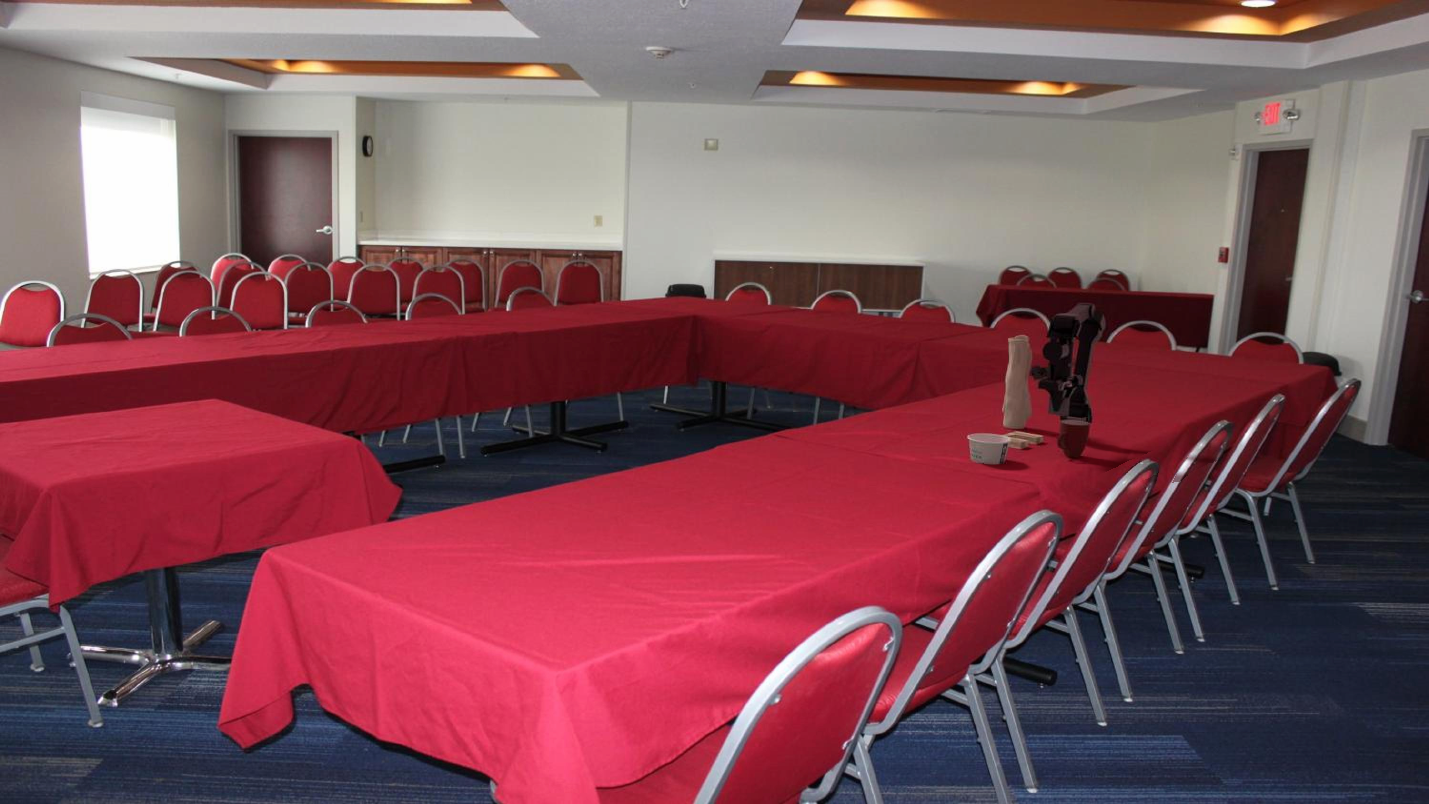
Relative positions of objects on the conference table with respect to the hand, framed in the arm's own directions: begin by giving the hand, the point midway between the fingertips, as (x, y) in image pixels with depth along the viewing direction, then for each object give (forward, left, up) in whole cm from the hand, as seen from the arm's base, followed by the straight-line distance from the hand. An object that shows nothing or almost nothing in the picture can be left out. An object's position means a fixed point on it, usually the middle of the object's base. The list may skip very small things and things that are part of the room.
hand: (1058, 411), depth 312 cm
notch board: (-2, -13, -12) cm, 18 cm away
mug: (+3, +6, -12) cm, 14 cm away
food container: (+25, -8, -13) cm, 29 cm away
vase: (-23, -25, -12) cm, 36 cm away
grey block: (0, 0, -1) cm, 1 cm away
